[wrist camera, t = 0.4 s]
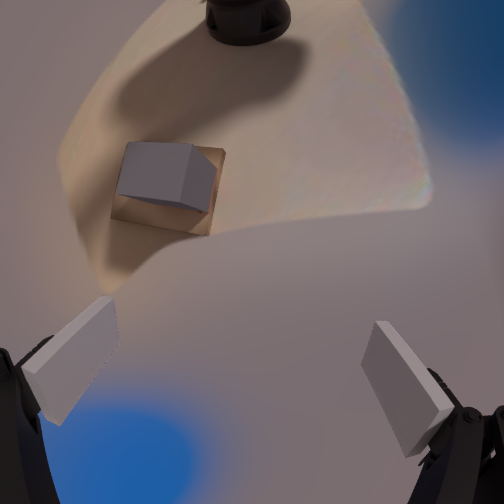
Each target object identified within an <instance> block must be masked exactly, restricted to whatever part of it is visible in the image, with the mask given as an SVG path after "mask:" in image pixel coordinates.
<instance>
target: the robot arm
mask: <svg viewBox="0 0 504 504" xmlns="http://www.w3.org/2000/svg"><path fill="white" fill-rule="evenodd" d="M205 21H206V26H207V28H208V30H209V32H210V34H211V36H212V37H213V38H215V39H216V40H218V41H220V42H222V43H225V44H229V45H236V46H247V45H255V44H260V43H264V42H267V41H270V40H272V39H274V38H276V37H278V36H280V35H281V34H283V33H284V32H285V31H286V30H287V29H288V27H289V25H290V22H291V12H290V8H289V5H288V4H287V2H286V0H207V4H206V20H205ZM119 344H120V337H119V331H118V325H117V317H116V310H115V301H114V298H113V297H107V296H101V297H99V298H98V299H97V300H96V301H95V302H93V303H92V304H91V305H90V306H89V307H87V308H86V309H85V310H84V311H83V312H81V313H80V314H79V315H78V316H77V317H76V318H75V319H73V320H72V321H71V322H70V323H69V324H67V325H66V326H65V327H64V328H63V329H62V330H61V331H59V332H58V333H57V334H56V335H52V336H50V337H48V338H46V339H44V340H43V341H41V342H40V343H39V344H38V345H37V347H35V348H34V349H33V350H32V352H31V351H30V352H29V353H28V354H27V355H26V356H25V357H24V358H23V359H21V360H20V361H19V362H18V363H17V364H16V365H15V366H14V365H13V363H12V361H11V358H10V355H9V353H8V351H7V350H5V349H4V348H0V504H60V501H59V498H58V496H57V493H56V490H55V486H54V483H53V479H52V476H51V472H50V468H49V465H48V461H47V456H46V452H45V447H44V442H43V437H42V430H41V424H40V419H39V417H38V415H37V414H38V413H39V411H40V410H41V411H42V412H43V414H44V416H45V418H46V419H47V420H49V421H50V422H53V423H55V424H56V425H58V426H61V424H62V423H63V421H64V420H65V418H66V417H67V415H68V414H69V413H70V411H71V410H72V408H73V407H74V405H75V404H76V402H77V401H78V399H79V398H80V397H81V395H82V394H83V393H84V391H85V390H86V388H87V387H88V386H89V384H90V383H91V382H92V380H93V379H94V377H95V376H96V375H97V373H98V372H99V371H100V369H101V368H102V367H103V365H104V364H105V363H106V361H107V360H108V359H109V357H110V356H111V355H112V353H113V352H114V351H115V349H116V348H117V347H118V345H119ZM361 366H362V367H363V369H364V372H365V374H366V375H367V377H368V379H369V381H370V383H371V385H372V387H373V389H374V392H375V393H376V395H377V398H378V399H379V402H380V404H381V406H382V408H383V410H384V412H385V414H386V416H387V418H388V420H389V423H390V425H391V427H392V429H393V431H394V433H395V436H396V438H397V440H398V442H399V444H400V446H401V449H402V451H403V453H404V456H405V457H406V458H407V457H410V456H414V455H417V454H420V453H421V452H422V451H423V450H424V449H425V447H426V446H427V445H429V447H430V449H431V450H430V451H429V453H428V454H427V455H426V456H425V457H424V458H423V459H422V461H421V462H420V463H419V465H418V466H421V465H422V463H423V462H424V465H423V468H422V470H421V473H420V475H419V478H418V480H417V483H416V485H415V488H414V490H413V492H412V495H411V497H410V499H409V501H408V503H407V504H504V405H503V406H499V407H498V408H497V409H496V411H495V412H494V414H493V415H491V416H490V415H488V416H482V414H481V413H480V412H479V411H478V410H477V409H475V408H472V407H464V408H463V406H462V405H461V404H460V403H459V401H458V400H457V398H456V397H455V396H454V394H453V393H452V392H451V390H450V389H449V388H447V385H446V384H445V383H443V380H442V379H441V378H440V377H439V375H438V374H437V373H435V372H434V371H433V370H431V369H430V368H425V366H424V365H423V364H422V363H421V361H420V360H419V359H418V358H417V356H416V355H415V354H414V352H413V351H412V350H411V349H410V347H409V346H408V345H407V344H406V343H405V341H404V340H403V339H402V338H401V336H400V335H399V334H398V333H397V332H396V330H395V329H394V328H393V327H392V326H391V325H390V323H389V322H388V321H375V323H374V326H373V330H372V333H371V336H370V340H369V342H368V346H367V349H366V352H365V355H364V357H363V361H362V363H361ZM494 450H495V452H496V455H495V456H494V457H493V458H491V453H492V452H493V451H494Z"/></svg>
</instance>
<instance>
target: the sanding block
mask: <svg viewBox="0 0 504 504" xmlns="http://www.w3.org/2000/svg"><path fill="white" fill-rule="evenodd" d="M217 172H218V169H217V168H216V167H215V166H214V165H213V164H212V163H211V162H210V161H209V160H208V159H207V158H206V157H205V156H204V155H203V154H202V153H201V152H200V151H199V150H198V149H197V148H196V147H195V146H194V145H193V144H185V143H164V142H128V146H127V149H126V153H125V157H124V161H123V165H122V169H121V173H120V177H119V182H118V186H117V191H116V194H118V195H122V196H126V197H129V198H133V199H137V200H140V201H144V202H148V203H151V204H155V205H160V206H167V207H174V208H180V209H187V210H193V211H199V212H206V213H209V212H210V207H211V202H212V197H213V192H214V187H215V182H216V177H217Z"/></svg>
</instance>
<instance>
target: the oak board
mask: <svg viewBox="0 0 504 504" xmlns="http://www.w3.org/2000/svg"><path fill="white" fill-rule="evenodd" d="M127 146H128V144H127ZM127 146H126V149H127ZM195 147H196V148H197V149H198V150H199V151H200V152H201V153H202V154H203V155H204V156H205V157H206V158H207V159H208V160H209V161H210V162H211V163H212V164H213V165H214V166H215V167H216V168H217V169H218V172H217V177H216V182H215V187H214V192H213V197H212V202H211V207H210V212H209V213H206V212H199V211H193V210H187V209H180V208H174V207H167V206H160V205H155V204H151V203H148V202H144V201H140V200H137V199H133V198H129V197H126V196H122V195H118V194H116V192H115V196H114V201H113V207H112V212H111V219H116V220H122V221H128V222H133V223H139V224H144V225H150V226H155V227H161V228H166V229H172V230H177V231H183V232H188V233H194V234H199V235H204V236H209V234H210V228H211V223H212V218H213V212H214V207H215V202H216V197H217V192H218V187H219V182H220V177H221V173H222V168H223V163H224V159H225V154H226V152H225V151H224V150H223V148H212V147H200V146H195ZM125 153H126V150H125ZM124 157H125V154H124ZM124 157H123V161H124ZM123 161H122V165H123ZM122 165H121V169H122ZM121 169H120V173H121ZM120 173H119V177H120ZM118 182H119V178H118ZM118 182H117V186H118ZM116 191H117V187H116Z"/></svg>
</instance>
